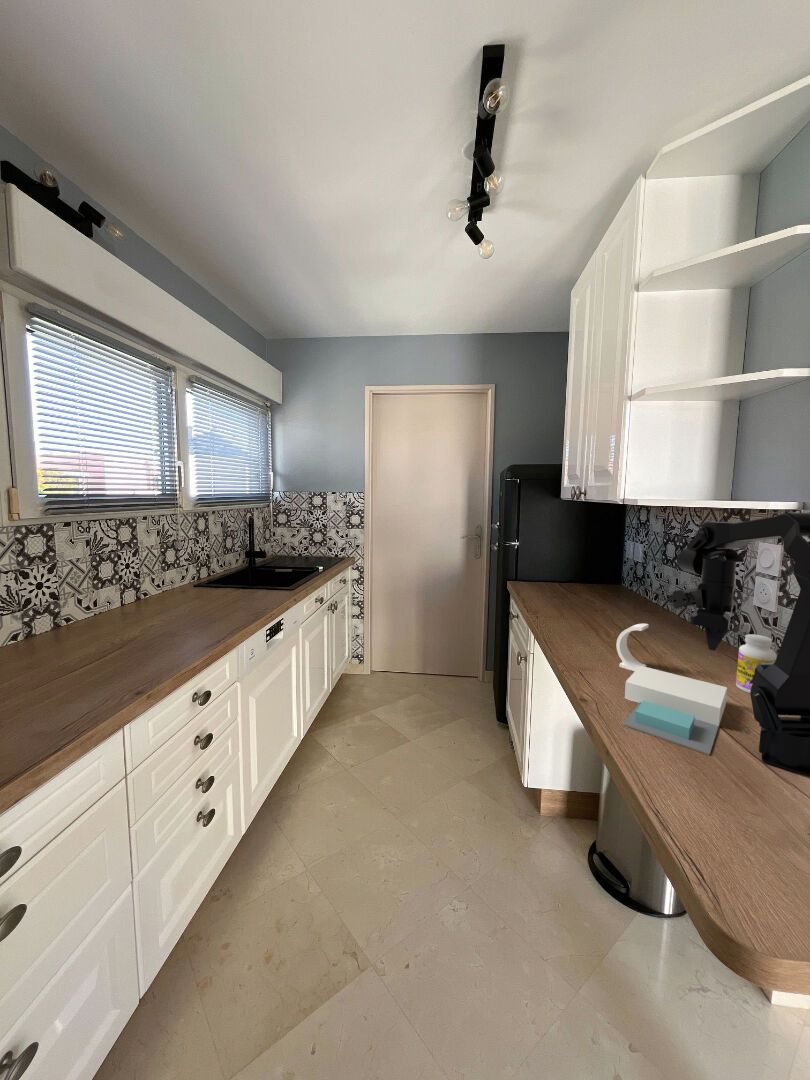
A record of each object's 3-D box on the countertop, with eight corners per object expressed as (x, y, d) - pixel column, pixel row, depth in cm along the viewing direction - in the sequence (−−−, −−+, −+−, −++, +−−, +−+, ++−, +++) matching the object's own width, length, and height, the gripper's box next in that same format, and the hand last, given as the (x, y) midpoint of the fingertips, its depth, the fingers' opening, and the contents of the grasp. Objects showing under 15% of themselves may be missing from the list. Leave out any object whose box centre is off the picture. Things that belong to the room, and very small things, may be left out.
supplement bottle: (728, 683, 100) (732, 632, 98) (756, 683, 100) (761, 632, 98) (750, 696, 93) (755, 642, 92) (780, 697, 93) (786, 642, 91)
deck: (725, 704, 90) (727, 687, 89) (718, 727, 81) (720, 708, 81) (639, 681, 101) (640, 665, 101) (624, 698, 93) (625, 681, 92)
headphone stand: (639, 672, 106) (641, 627, 105) (615, 665, 111) (617, 622, 109) (646, 667, 109) (648, 624, 108) (622, 661, 114) (624, 619, 112)
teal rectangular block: (689, 728, 76) (688, 739, 76) (694, 715, 81) (694, 726, 81) (635, 711, 82) (635, 721, 83) (643, 700, 87) (642, 710, 87)
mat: (718, 727, 81) (718, 726, 81) (709, 755, 72) (709, 753, 72) (639, 703, 91) (639, 701, 90) (623, 725, 82) (623, 724, 82)
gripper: (681, 569, 100) (677, 631, 102) (664, 581, 87) (659, 652, 88) (740, 575, 93) (734, 642, 94) (731, 589, 79) (724, 666, 81)
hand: (712, 649), depth 90 cm, fingers closed
